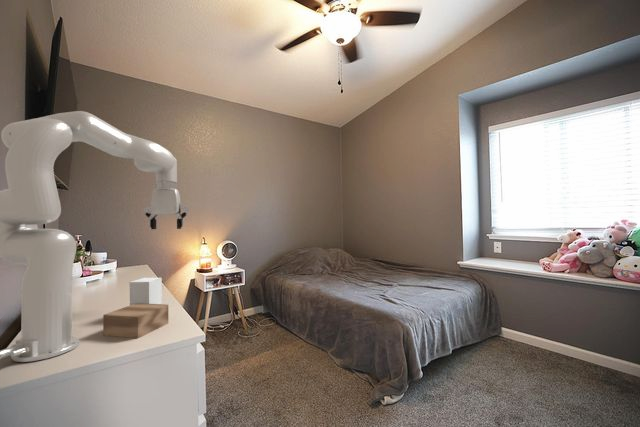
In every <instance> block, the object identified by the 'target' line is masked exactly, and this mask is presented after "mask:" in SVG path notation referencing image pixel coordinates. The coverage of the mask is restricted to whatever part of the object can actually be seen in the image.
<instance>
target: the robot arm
mask: <svg viewBox="0 0 640 427" xmlns="http://www.w3.org/2000/svg"><path fill="white" fill-rule="evenodd" d="M0 135H1V137H0V138H1V141H2V143H3V144H4V146H5V147H7V149H8V151H7V153H6V156H5V161H4V170H5V176H6V181H7V187H8V188H5V189H2V190H0V258H1V259H2V260H3V261H5V262H6V263H8V264H12V265H15V266H17V265H19V266H27V267H26V270H25V272H24V274H23V277H22V280H21V281H22V282H21V289H20V290H21V291H20V293H21V294H20V295H21V309H20V310H21V313H20V314H21V316H20V317H21V318H20V319H21V325H20V326H21V328H20V330H21V333H20V334H21V335H20V338H19V339H15V344H13V345H11V347H7V348H4V349H1V350H0V360H2V359H5V358H7V357H11V360H12V361H13V362H17V363H28V362H37V361H41V360H47V359H50V358H54V357H57V356H59V355H63V354H65V353H67V352H70V351H72V350H74V349H75V348H77V347H78V345H79V344H80V338H79V337H76V336H72V335H73V334H72V333H73V332H72V331H73V327H72V326H73V325H72V324H73V323H72V322H73V317H72V316H73V310H72V309H73V308H72V306H73V295H72V294H73V286H72V282H73V281H72V280H73V279H72V278H73V267H74V262H75V257H76V254H77V248H78V247H77V242H76V239H75V237H73V235H72V234H70V233H69V232H68V231H64V230H62V229H59V228H38V225H46V224H50V223H52V222H55V221H56V220H57V219H59V218H60V216H61V213H62V205H61V200H60V196H59V192H58V188H57V183H56V178H55V172H54V167H55V166H54V165H55V161H56V160H57V158H58V157H59V155H60V154H62V152H64V151H65V150H66V149H67V148H68V147H70V145H71V144H72V143H74V142H75V143H77V142H78V143H79V142H82V143H86V144H87V145H90V146H92V147H94V148H96V149H98V150H100V151H102V152H104V153H107V154H109V155H111V156H114V157H118V158H123V159H133V164H134V166H135V167H136V168H137V169H138V170H139V171H142V172H146V173H155V182H154V183H153V184H151V185H152V186H151V187H152V188H154V189H153V191H152V195H151V204H149V205H148V206H145V207H143V209H142V211H143V212H144V213H145V216H146V217H147V218H148V219H149V226H150V227H149V228H150V230H156V229H157V219H156V218H157V217H158V216H161V215H163V216H165V215H166V216H167V215H172V216H173V215H175V217H177V219H176V229H177V230H181V229H182V228H183V225H184V224H183V220H184V218H185V217H186V216H187V215H188V213H189V211H190V208H189V207H187V206H186V205H184V204H182V203H181V195H180V191H179V190H178V160H177V158H176V157H174V155H173V154H172V152H171V151H170V150H168V149H167V148H166V147H164V146H162V145H161V144H159V143H156V142H154V141H151V140H148V139H145V138H141V137H138V136H136V135H132V134H129V133H126V132H123V131H122V130H121V129H118V128H117V127H115V126H113V125H111V124H110V123H108V122H107V121H105V120H103V119H101V118H99V117H98V116H96V115H94V114H92V113H90V112H88V111H85V110H75V111H68V112H59V113H55V114H50V115H45V116H40V117H37V118H35V117H34V118H31V119H26V120H21V121H15V122H11V123H9V124H7V125H5V127H3V129H2V130H1V133H0ZM182 210H184V211H183V213H181V212H182ZM150 212H151V213H150Z"/></svg>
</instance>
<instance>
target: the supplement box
mask: <svg viewBox="0 0 640 427" xmlns="http://www.w3.org/2000/svg"><path fill="white" fill-rule="evenodd" d="M162 279H163V278H162V277H141V278H138V279H134V280H131V281H129V306H130V305H133V304H136V303H146V304H163V291H162V290H163V288H162V286H163V284H162V281H163V280H162Z"/></svg>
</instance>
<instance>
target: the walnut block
mask: <svg viewBox="0 0 640 427" xmlns="http://www.w3.org/2000/svg"><path fill="white" fill-rule="evenodd" d="M102 315H103V316H102V317H103V319H102V321H103V322H102V323H103V324H102V325H103V327H102V328H103V336H104V337H105V336H106V337H107V336H108V337H109V336H110V337H116V338H117V337H121V338H129V339H134V338H135V339H139V338H142V337H144V336H145V335H147V334H149V333H151V332H154V331H155V330H157V329H159V328H161V327H163V326H165V324H166V325H168V324H169V304H164V303H162V304H146V303H136V304H133V305H130V304H129V305H127V306H124V307H122V308H118V309H116V310H113V311H109V312H108V313H104V314H102ZM167 323H168V324H167Z"/></svg>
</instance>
